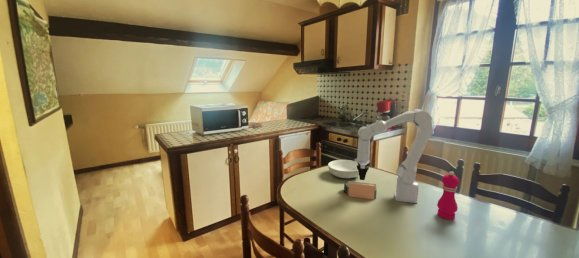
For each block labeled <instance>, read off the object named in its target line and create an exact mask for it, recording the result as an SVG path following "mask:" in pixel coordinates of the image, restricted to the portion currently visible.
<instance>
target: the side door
mask: <svg viewBox="0 0 579 258" xmlns="http://www.w3.org/2000/svg"><path fill="white" fill-rule="evenodd" d="M374 191H375V185H367V184H358V183H349V195H348V197H353V198H359V199H367V200H372V201H373V200H375V199H374Z"/></svg>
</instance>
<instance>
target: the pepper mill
mask: <svg viewBox="0 0 579 258" xmlns="http://www.w3.org/2000/svg"><path fill="white" fill-rule="evenodd" d="M441 182H442V189H443V191H442V195H441V197H440V198H439V199H438V201H437V204H436V206H437V216H438V217H440V218H442V219H444V220H450V221H451V220H454V219H455V218H456V212H457V211H458V204H457V201H456V197H455V195H456V192H457V189H458V186H459V185H460V179H459V178H458V176H456V175H455V172H454V171H449V172H448V173H447V174H445V175H443V176H442V178H441Z"/></svg>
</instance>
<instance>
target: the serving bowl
mask: <svg viewBox="0 0 579 258" xmlns="http://www.w3.org/2000/svg"><path fill="white" fill-rule="evenodd" d="M357 165H358V163H357V161H355V160H351V159H349V160H348V159H336V160H332V161H330V162H328V164H327V166H328V170H329V172H330V173H331V174H332V175H333V176H334V177H338V178H340V179H353V178H358V177H359V172H358V169H357Z"/></svg>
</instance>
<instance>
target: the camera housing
mask: <svg viewBox="0 0 579 258" xmlns="http://www.w3.org/2000/svg"><path fill="white" fill-rule="evenodd" d="M349 183H358V184H367V185H375V191H374V200H376V199H377V191H378V190H377V184H376V183H370V182H363V181H362V182H359V181H352V180H348V182H347V183H346V182H345V183H344V185H343V193H346V196H349Z"/></svg>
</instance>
